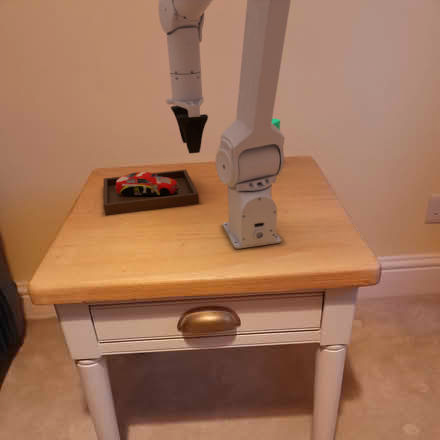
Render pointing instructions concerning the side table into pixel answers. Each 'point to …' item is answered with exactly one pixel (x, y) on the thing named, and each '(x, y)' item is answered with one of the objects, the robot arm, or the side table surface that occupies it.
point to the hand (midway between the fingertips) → (191, 147)
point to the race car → (145, 184)
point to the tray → (124, 204)
